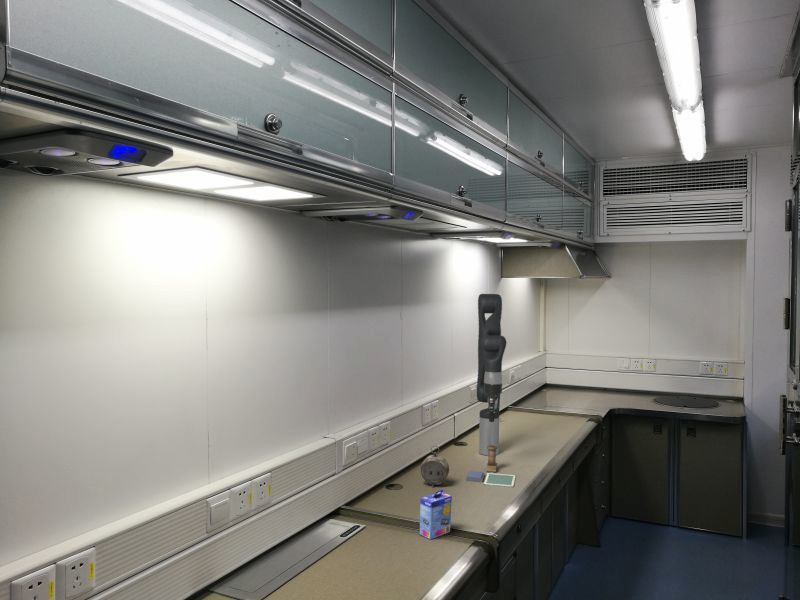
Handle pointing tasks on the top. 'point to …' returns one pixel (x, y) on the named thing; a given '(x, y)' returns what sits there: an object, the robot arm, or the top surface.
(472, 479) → the ink pad
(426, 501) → the ink cartridge box
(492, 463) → the stamp
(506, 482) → the green white framed board
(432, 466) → the alarm clock
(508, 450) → the top surface
